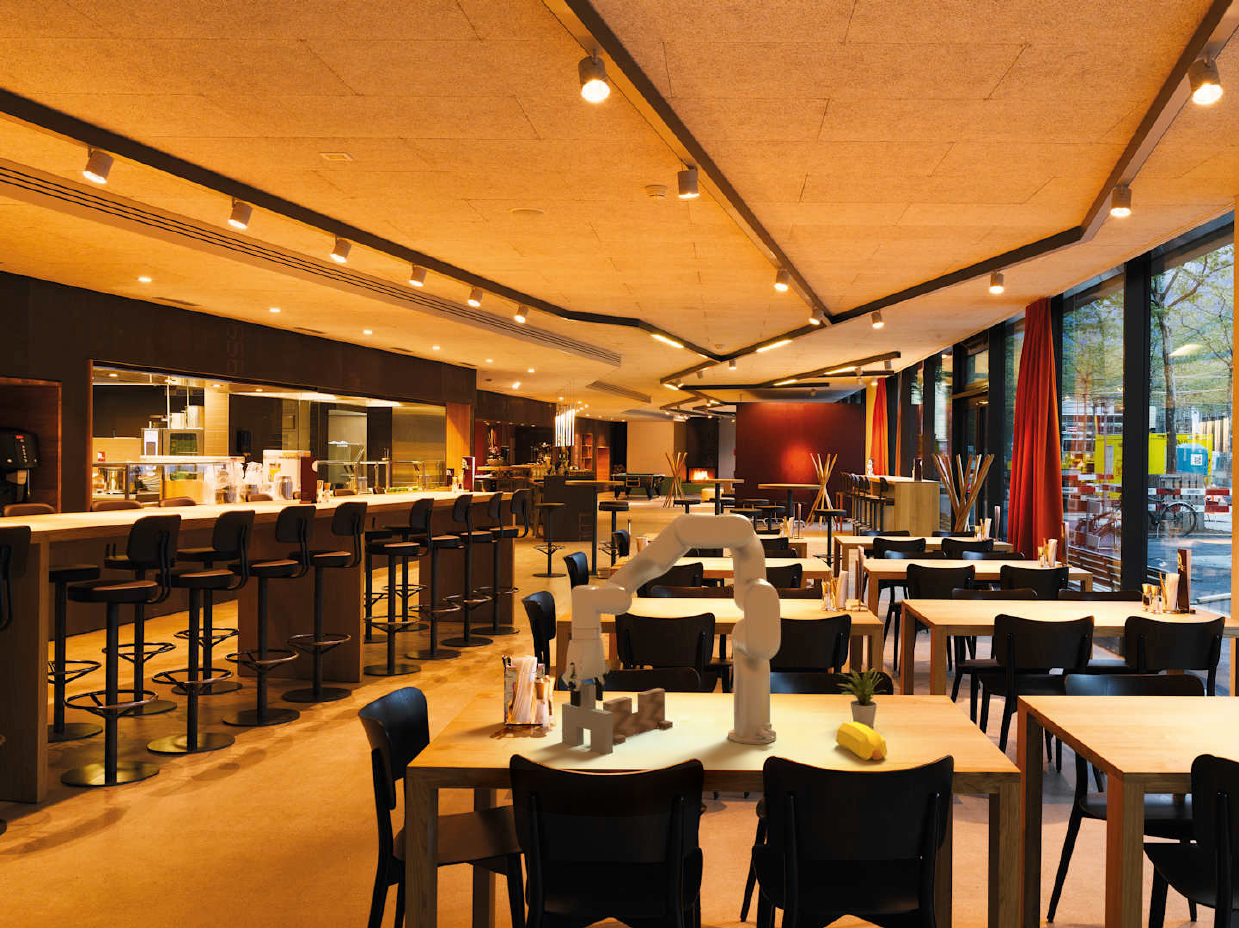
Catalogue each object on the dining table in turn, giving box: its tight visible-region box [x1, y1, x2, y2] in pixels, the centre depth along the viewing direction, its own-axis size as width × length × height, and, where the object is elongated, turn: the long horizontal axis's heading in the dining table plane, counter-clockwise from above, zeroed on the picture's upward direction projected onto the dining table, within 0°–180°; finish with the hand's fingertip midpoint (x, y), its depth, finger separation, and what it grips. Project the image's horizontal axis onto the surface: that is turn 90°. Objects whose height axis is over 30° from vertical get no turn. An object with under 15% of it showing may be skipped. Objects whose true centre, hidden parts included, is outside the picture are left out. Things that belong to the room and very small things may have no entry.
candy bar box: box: [503, 663, 546, 725], centre depth 267 cm, size 11×5×16 cm, turn 92°
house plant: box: [836, 667, 886, 729], centre depth 264 cm, size 14×14×16 cm
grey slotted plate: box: [561, 682, 614, 755], centre depth 244 cm, size 16×2×16 cm, turn 47°
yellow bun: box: [835, 721, 888, 761], centre depth 238 cm, size 18×7×8 cm
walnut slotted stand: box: [602, 687, 674, 745], centre depth 257 cm, size 22×8×10 cm, turn 137°
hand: (586, 702), depth 244 cm, fingers open, 7 cm apart
